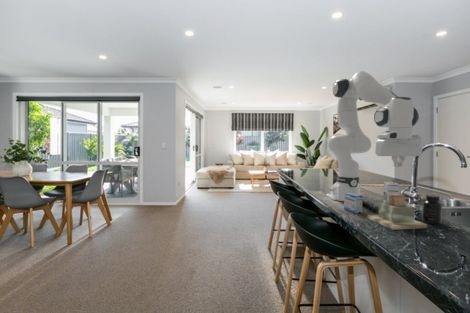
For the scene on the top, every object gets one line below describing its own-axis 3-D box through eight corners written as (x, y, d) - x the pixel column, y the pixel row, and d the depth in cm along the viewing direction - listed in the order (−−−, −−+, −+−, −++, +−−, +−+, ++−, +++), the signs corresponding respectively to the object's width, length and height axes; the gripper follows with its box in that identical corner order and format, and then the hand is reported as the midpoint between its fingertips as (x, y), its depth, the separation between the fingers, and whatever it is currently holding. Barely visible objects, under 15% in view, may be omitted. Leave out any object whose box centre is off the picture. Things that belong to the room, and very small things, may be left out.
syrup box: (398, 212, 136) (400, 183, 135) (386, 211, 138) (387, 183, 137) (394, 209, 142) (395, 182, 141) (382, 208, 143) (383, 181, 142)
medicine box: (343, 209, 141) (344, 193, 141) (349, 208, 143) (350, 192, 142) (355, 213, 134) (356, 196, 133) (362, 212, 136) (362, 195, 135)
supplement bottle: (424, 219, 125) (425, 193, 124) (442, 222, 120) (444, 195, 119) (420, 222, 120) (421, 195, 119) (439, 226, 115) (441, 198, 114)
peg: (387, 215, 121) (388, 193, 120) (396, 215, 121) (397, 193, 121) (395, 218, 116) (396, 195, 116) (404, 218, 117) (405, 195, 116)
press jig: (367, 218, 126) (368, 201, 125) (397, 216, 128) (398, 200, 128) (392, 229, 110) (393, 210, 109) (427, 227, 112) (428, 209, 112)
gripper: (415, 134, 121) (413, 165, 122) (373, 134, 118) (372, 165, 119) (427, 134, 115) (425, 167, 116) (384, 134, 112) (382, 167, 113)
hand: (398, 166), depth 117 cm, fingers closed
